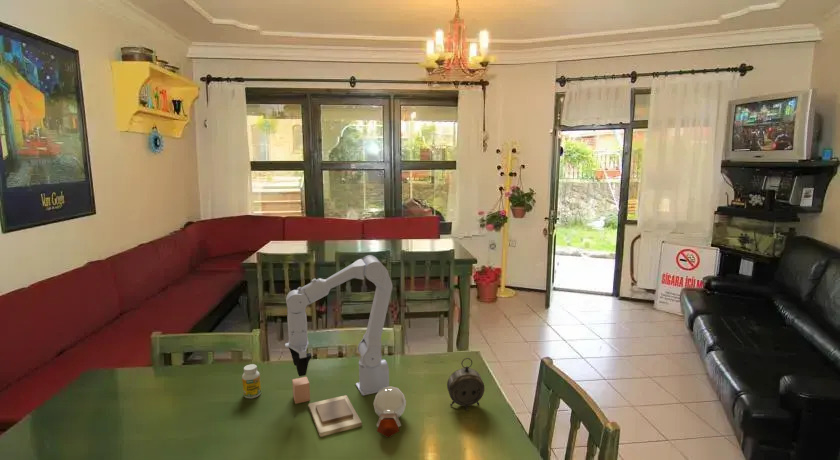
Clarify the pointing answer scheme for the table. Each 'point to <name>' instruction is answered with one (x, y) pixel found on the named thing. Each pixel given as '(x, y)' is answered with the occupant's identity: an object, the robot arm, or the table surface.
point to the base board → (334, 415)
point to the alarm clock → (465, 386)
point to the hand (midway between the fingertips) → (299, 369)
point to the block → (301, 390)
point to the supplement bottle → (251, 381)
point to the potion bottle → (389, 410)
